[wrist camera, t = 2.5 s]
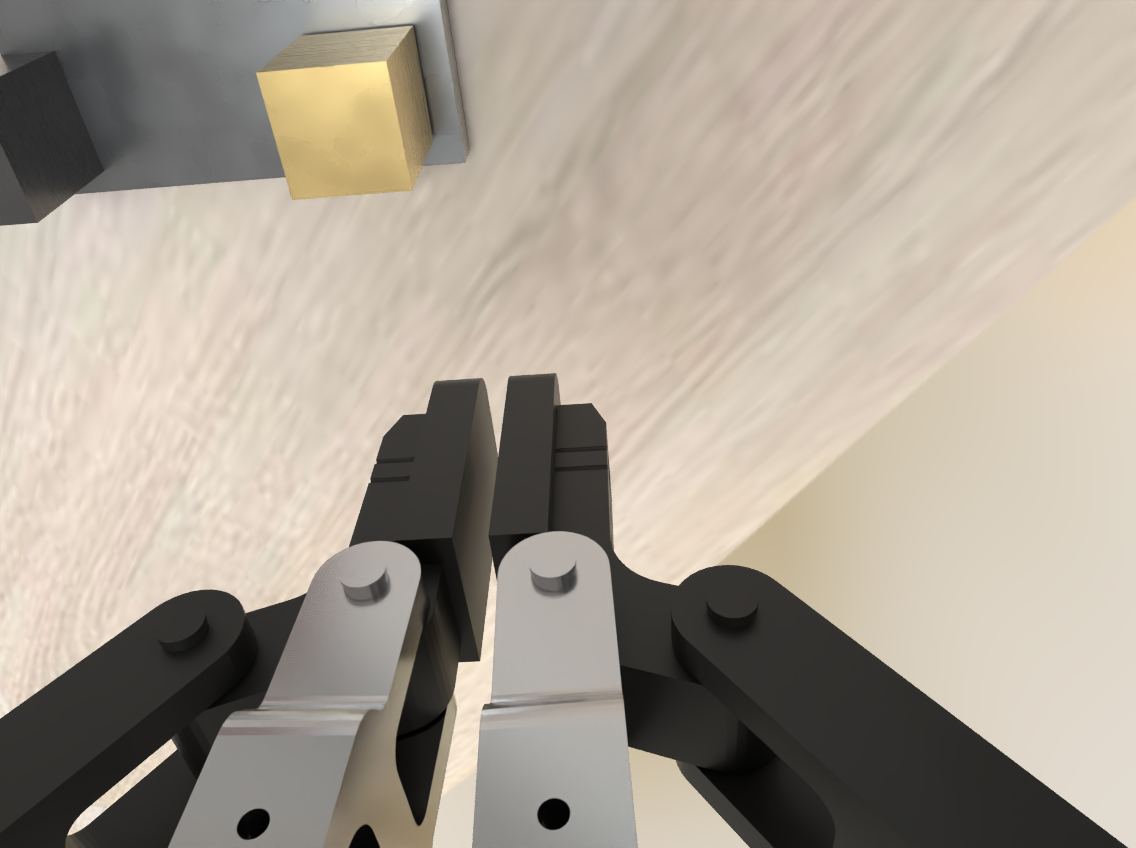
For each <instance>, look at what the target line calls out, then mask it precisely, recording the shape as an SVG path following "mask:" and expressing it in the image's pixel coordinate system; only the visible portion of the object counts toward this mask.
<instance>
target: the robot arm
mask: <svg viewBox="0 0 1136 848" xmlns="http://www.w3.org/2000/svg"><path fill="white" fill-rule="evenodd" d="M376 461H377V464H375V465H374V469H373V472H372V475H371V478H370V479H371V483H369V485H368V488H367V491H366V494H365V497H364V501H363V504H362V507H361V510H360V513H359V516H358V520H357V523H356V526H355V529H354V532H353V536H352V539H351V542H350V545H349V548H347V549H344V550H342V551H341V552H339V553H337V554H335V555H334V556H333V557H331V558H330V559H329V560H327V561H326V562H325V563H324V564H323V565H322V566H321V567H320V568H319V570H318V571H317V572H316V574H315V576H314V578H313V580H312V582H311V584H310V587H309V589H308V592H307V593H306V594H303V595H301V596H299V597H297V598H294V599H291V600H288V601H285V602H282V603H278V604H275V605H272V606H268V607H265V608H262V609H258V610H255V611H252V612H248V613H245V611H244V609H243V607H242V605H241V603H240V602H239V600H238V599H236V598H235V597H234V596H233V595H231V594H229V593H226V592H223V591H219V590H199V591H192V592H189V593H185V594H182V595H179V596H177V597H174V598H172V599H170V600H168V601H166V602H164V603H162V604H161V605H159V606H157V607H156V608H154V609H153V610H151V611H150V612H149V613H147V614H146V615H144V616H143V617H142V618H140V619H139V620H137V621H136V622H135V623H133V624H132V625H130V626H129V627H128V628H126V629H125V630H124V631H122V632H121V633H119V634H118V635H117V636H115V637H114V638H112V639H111V640H110V641H108V642H107V643H105V644H104V645H103V646H101V647H100V648H98V649H97V650H96V651H94V652H93V653H91V654H90V655H89V656H87V657H86V658H84V659H83V660H82V661H80V662H79V663H77V664H76V665H75V666H73V667H72V668H71V669H69V670H68V671H66V672H65V673H64V674H62V675H61V676H59V677H58V678H57V679H55V680H54V681H52V682H51V683H50V684H48V685H47V686H45V687H44V688H43V689H41V690H40V691H38V692H37V693H36V694H34V695H33V696H31V697H30V698H29V699H27V700H26V701H24V702H23V703H22V704H20V705H19V706H17V707H16V708H15V709H13V710H12V711H11V712H9V713H8V714H6V715H5V716H4V717H2V718H1V719H0V848H432V845H433V836H434V830H435V825H436V819H437V814H438V809H439V804H440V798H441V793H442V788H443V782H444V777H445V772H446V766H447V761H448V756H449V751H450V745H451V740H452V735H453V729H454V724H455V719H456V712H457V705H456V699H455V695H454V688H455V682H456V675H457V668H458V662H474V661H480V657H481V648H482V640H483V632H484V623H485V615H486V606H487V598H488V590H489V581H490V573H491V565H492V557H493V563H494V568H495V573H496V578H497V598H496V618H495V637H494V657H493V677H492V695H491V703H490V704H484V706H483V709H482V713H481V719H480V730H479V746H478V762H477V779H476V795H475V811H474V827H473V844H472V848H638V844H637V834H636V823H635V814H634V803H633V793H632V782H631V773H630V762H629V751H628V747H632V748H635V749H639V750H643V751H646V752H650V753H653V754H657V755H660V756H664V757H667V758H671V759H674V760H676V762H677V765H678V767H679V769H680V771H681V773H682V774H683V775H684V777H685V778H686V779H687V780H688V781H689V783H691V785H692V786H693V787H694V788H695V789H696V790H697V791H698V792H699V793H700V794H701V795H702V797H703V798H704V799H705V800H706V801H707V802H708V803H709V804H710V805H711V806H712V807H713V808H714V809H715V811H716V812H717V813H718V814H719V815H720V816H721V817H722V818H723V819H724V820H725V821H726V822H727V823H728V824H729V826H730V827H731V828H732V829H733V830H734V831H735V832H736V833H737V834H738V835H739V836H740V837H741V838H742V839H743V841H744V842H745V843H746V844H747V845H748V846H749V847H750V848H1127V847H1126V846H1125V845H1124V844H1122V843H1121V842H1120V841H1118V840H1117V839H1116V838H1114V837H1113V836H1112V835H1110V834H1109V833H1108V832H1106V831H1105V830H1104V829H1103V828H1101V827H1100V826H1098V825H1097V824H1096V823H1095V822H1093V821H1092V820H1091V819H1089V818H1088V817H1086V816H1085V815H1084V814H1083V813H1081V812H1080V811H1079V810H1077V809H1076V808H1075V807H1073V806H1072V805H1071V804H1070V803H1068V802H1067V801H1066V800H1064V799H1063V798H1062V797H1060V796H1059V795H1058V794H1056V793H1055V792H1054V791H1052V790H1051V789H1050V788H1048V787H1047V786H1046V785H1044V784H1043V783H1042V782H1040V781H1039V780H1038V779H1036V778H1035V777H1034V776H1033V775H1031V774H1030V773H1029V772H1027V771H1026V770H1024V769H1023V768H1022V767H1021V766H1019V765H1018V764H1017V763H1015V762H1014V761H1013V760H1011V759H1010V758H1009V757H1008V756H1006V755H1005V754H1004V753H1002V752H1001V751H1000V750H998V749H997V748H996V747H994V746H993V745H992V744H990V743H989V742H988V741H986V740H985V739H983V738H982V737H981V736H980V735H978V734H977V733H976V732H974V731H973V730H972V729H971V728H969V727H968V726H966V725H965V724H964V723H963V722H961V721H960V720H959V719H957V718H956V717H955V716H953V715H952V714H951V713H949V712H948V711H947V710H946V709H944V708H943V707H942V706H940V705H939V704H938V703H936V702H935V701H934V700H932V699H931V698H929V697H928V696H927V695H926V694H924V693H923V692H922V691H920V690H919V689H918V688H916V687H915V686H914V685H912V684H911V683H910V682H908V681H907V680H906V679H905V678H903V677H902V676H901V675H899V674H898V673H897V672H895V671H894V670H893V669H891V668H890V667H889V666H887V665H886V664H885V663H883V662H882V661H881V660H880V659H878V658H877V657H875V656H874V655H873V654H872V653H870V652H869V651H868V650H866V649H865V648H864V647H862V646H861V645H860V644H858V643H857V642H856V641H854V640H853V639H852V638H850V637H849V636H848V635H846V634H845V633H844V632H843V631H841V630H840V629H839V628H837V627H836V626H835V625H833V624H832V623H831V622H829V621H828V620H827V619H825V618H824V617H823V616H821V615H820V614H819V613H817V612H816V611H815V610H813V609H812V608H811V607H810V606H808V605H807V604H806V603H804V602H803V601H802V600H800V599H799V598H798V597H796V596H795V595H794V594H792V593H791V592H790V591H788V590H787V589H786V588H785V587H783V586H782V585H781V584H779V583H778V582H777V581H775V580H774V579H772V578H771V577H769V576H768V575H766V574H764V573H762V572H759V571H757V570H754V569H751V568H747V567H742V566H734V565H721V566H714V567H709V568H705V569H703V570H700V571H698V572H696V573H694V574H692V575H690V576H689V577H688V578H686V579H685V580H684V581H683V582H682V583H681V584H680V585H679V586H676V585H671V584H667V583H662V582H658V581H654V580H650V579H648V578H645V577H643V576H640V575H638V574H637V573H635V572H633V571H631V570H630V569H629V568H628V567H626V566H625V565H624V564H623V563H622V562H621V561H620V560H619V559H618V557H617V556H616V554H615V552H614V545H613V523H612V522H613V521H612V497H611V484H610V470H609V457H608V443H607V430H606V422H605V421H604V419H603V418H602V417H601V415H600V414H599V413H598V411H597V410H596V409H595V407H594V406H593V405H592V403H588V404H572V405H561V404H560V394H559V386H558V379H557V374H556V373H552V374H537V375H521V376H510V377H509V379H508V386H507V393H506V401H505V409H504V417H503V425H502V432H501V440H500V448H499V456H498V453H497V448H496V442H495V436H494V430H493V424H492V418H491V412H490V407H489V401H488V395H487V389H486V385H485V382H484V380H483V378H477V379H462V380H446V381H436V382H435V383H434V385H433V388H432V392H431V396H430V400H429V404H428V408H427V412H426V414H415V415H403V416H402V417H401V418H400V419H399V420H398V421H397V423H396V424H395V425H394V426H393V427H392V428H391V429H390V430H389V431H388V432H387V433H386V434H385V435H384V437H383V440H382V443H381V446H380V449H379V453H378V456H377V459H376ZM170 739H172V741H173V742H174V744H175V746H176V747H177V750H176V751H175V752H174V753H173V754H172V755H170V756H169V757H168V758H167V759H166V760H164V761H163V762H162V763H161V764H160V765H159V766H157V767H156V768H155V769H154V770H153V771H151V772H150V773H149V774H148V775H147V776H146V777H144V778H143V779H142V780H141V781H140V782H138V783H137V784H136V785H135V786H134V787H133V788H131V789H130V790H129V791H128V792H127V793H125V794H124V795H123V796H122V797H121V798H119V799H118V800H117V801H116V802H115V803H114V804H112V805H111V806H110V807H109V808H108V809H106V810H105V811H104V812H103V813H102V814H101V815H99V816H98V817H97V818H96V819H95V820H93V821H92V822H91V823H90V824H89V825H87V826H86V827H85V828H83V829H82V830H80V831H78V832H76V833H74V834H72V835H69V836H67V834H68V832H69V830H70V828H71V826H72V824H73V823H74V822H75V820H76V819H77V818H78V817H79V816H80V814H81V813H82V812H84V811H85V810H86V809H87V808H88V807H89V806H90V805H92V804H93V803H94V802H95V801H96V800H98V799H99V798H100V797H101V796H102V795H104V794H105V793H106V792H107V791H108V790H110V789H111V788H112V787H113V786H114V785H116V784H117V783H118V782H119V781H120V780H122V779H123V778H124V777H125V776H126V775H128V774H129V773H130V772H131V771H132V770H134V769H135V768H136V767H137V766H138V765H140V764H141V763H142V762H143V761H144V760H146V759H147V758H148V757H149V756H150V755H152V754H153V753H154V752H155V751H156V750H158V749H159V748H160V747H161V746H162V745H164V744H165V743H166V742H167V741H169V740H170Z"/></svg>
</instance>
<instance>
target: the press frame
mask: <svg viewBox="0 0 1136 848" xmlns="http://www.w3.org/2000/svg"><path fill="white" fill-rule="evenodd" d="M402 26H413V28H414V34H415V40H416V45H417V51H418V56H419V62H420V68H421V73H422V79H423V85H424V90H425V96H426V101H427V107H428V113H429V118H430V124H431V130H432V135H433V143H432V146H431V148H430V150H429V153H428V155H427V157H426V159H425V162H424V164H423V166H428V165H440V164H453V163H465V161H466V158H467V155H468V152H469V144H468V138H467V132H466V125H465V119H464V112H463V106H462V99H461V93H460V86H459V80H458V73H457V67H456V60H455V54H454V47H453V41H452V34H451V28H450V21H449V15H448V8H447V2H446V0H0V54H1V56H0V226H1V225H14V224H27V223H38V222H39V221H41V220H42V219H43V218H44V217H46V216H47V215H48V214H50V213H51V212H52V211H53V210H55V209H56V208H57V207H59V206H60V205H61V204H62V203H64V202H65V201H66V200H68V199H69V198H70V197H71V196H73V195H74V194H83V193H95V192H107V191H120V190H132V189H144V188H157V187H169V186H181V185H194V184H206V183H218V182H231V181H243V180H255V179H268V178H280V177H286V176H285V173H284V169H283V166H282V162H281V159H280V155H279V152H278V148H277V145H276V141H275V138H274V134H273V131H272V127H271V124H270V120H269V117H268V113H267V110H266V106H265V103H264V99H263V96H262V92H261V89H260V85H259V82H258V78H257V75H256V72H257V71H259V70H260V69H261V68H262V67H263V66H265V65H266V64H267V63H268V62H269V61H271V60H272V59H273V58H274V57H275V56H277V55H278V54H279V53H280V52H281V51H283V50H284V49H285V48H286V47H287V46H289V45H290V44H291V43H292V42H293V41H295V40H296V39H297V38H298V37H299V36H304V35H315V34H326V33H337V32H348V31H359V30H369V29H380V28H391V27H402Z"/></svg>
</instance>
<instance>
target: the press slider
mask: <svg viewBox="0 0 1136 848" xmlns="http://www.w3.org/2000/svg"><path fill="white" fill-rule="evenodd" d="M256 75H257V78H258V82H259V85H260V89H261V92H262V96H263V99H264V103H265V106H266V110H267V113H268V117H269V120H270V124H271V127H272V131H273V134H274V138H275V141H276V145H277V148H278V152H279V155H280V159H281V162H282V166H283V169H284V173H285V176H286V180H287V183H288V187H289V190H290V194H291V197H292V200H296V199H309V198H321V197H334V196H346V195H359V194H372V193H384V192H397V191H409V190H412V189H413V187H414V185H415V182H416V180H417V178H418V175H419V173H420V171H421V169H422V166H423V164H424V162H425V159H426V157H427V155H428V153H429V150H430V148H431V146H432V143H433V135H432V130H431V124H430V118H429V113H428V107H427V101H426V96H425V90H424V85H423V79H422V73H421V68H420V62H419V56H418V51H417V45H416V40H415V34H414V28H413V26H402V27H391V28H380V29H369V30H359V31H348V32H337V33H326V34H315V35H304V36H299V37H298V38H297V39H296V40H295V41H293V42H292V43H291V44H290V45H289V46H287V47H286V48H285V49H284V50H283V51H281V52H280V53H279V54H278V55H277V56H275V57H274V58H273V59H272V60H271V61H269V62H268V63H267V64H266V65H265V66H263V67H262V68H261V69H260V70H259V71H257V72H256Z"/></svg>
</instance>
